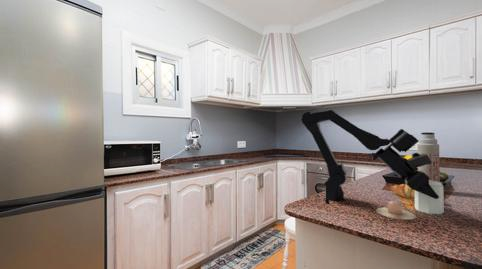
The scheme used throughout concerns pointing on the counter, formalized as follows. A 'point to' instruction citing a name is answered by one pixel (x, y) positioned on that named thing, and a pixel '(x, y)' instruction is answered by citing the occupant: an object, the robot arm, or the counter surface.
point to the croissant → (403, 191)
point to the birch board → (404, 215)
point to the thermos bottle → (432, 150)
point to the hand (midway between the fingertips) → (433, 194)
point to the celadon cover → (430, 200)
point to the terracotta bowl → (395, 207)
